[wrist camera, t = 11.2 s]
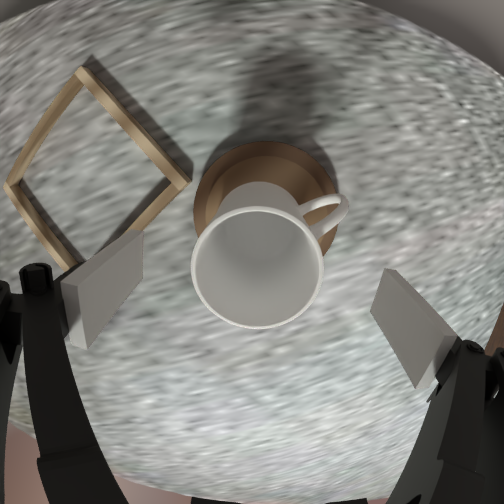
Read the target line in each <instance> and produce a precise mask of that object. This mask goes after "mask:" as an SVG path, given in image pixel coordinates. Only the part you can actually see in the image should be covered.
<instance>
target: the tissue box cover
mask: <svg viewBox="0 0 504 504" xmlns="http://www.w3.org/2000/svg"><path fill="white" fill-rule="evenodd" d="M498 347H502V348H504V303H503V306H502V309H501V312H500V314H499V317H498V319H497V322H496V325H495V327H494V329H493V332H492V334H491V336H490V339H489V341H488V343H487V346H486V348H485V350H484V351H485V355H488V356H492V355H493V354H494V352H495V350H496V348H498Z"/></svg>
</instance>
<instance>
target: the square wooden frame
mask: <svg viewBox="0 0 504 504" xmlns="http://www.w3.org/2000/svg"><path fill="white" fill-rule="evenodd" d="M84 85H85V86H86V87H87V89H88V90H89V91H90V92H91V93H92V94H93V95H94V97H95V98H96V99H97V100H98V101H99V102H100V103H101V104H102V106H103V107H104V108H105V109H106V110H107V111H108V112H109V113H110V115H111V116H112V117H113V118H114V119H115V120H116V121H117V122H118V124H119V125H120V126H121V127H122V128H123V129H124V130H125V131H126V133H127V134H128V135H129V136H130V137H131V138H132V139H133V140H134V141H135V143H136V144H137V145H138V146H139V147H140V148H141V149H142V150H143V151H144V153H145V154H146V155H147V156H148V157H149V158H150V159H151V160H152V161H153V163H154V164H155V165H156V166H157V167H158V168H159V169H160V170H161V171H162V173H163V174H164V175H165V176H166V177H167V178H168V179H169V180H170V181H171V182H172V183H171V184H170V185H169V186H168V187H167V188H166V189H165V190H164V191H163V192H162V193H161V194H160V195H159V196H158V197H157V198H156V199H155V200H154V201H153V202H152V203H151V204H150V205H149V206H148V207H147V209H146V210H145V211H144V212H143V213H142V214H141V215H140V216H139V217H138V218H137V219H136V220H135V221H134V223H133V224H132V225H131V226H130V227H129V228H128V229H127V230H126V231H125V233H126V232H128V231H129V230H130V229H133V230H140V231H143V230H144V229H145V228H146V227H147V226H148V225H149V223H150V222H151V221H152V220H153V219H154V218H155V217H156V216H157V215H158V214H159V213H160V212H161V211H162V210H163V209H164V208H165V207H166V206H167V205H168V204H169V203H170V202H171V201H172V200H173V199H174V198H175V197H176V196H177V195H178V194H179V193H180V192H181V191H182V190H183V189H184V188H185V187H187V186H188V185H189V184H190V183H191V182H192V181H191V180H190V178H189V177H188V176H187V175H186V174H185V173H184V172H183V171H182V170H181V169H180V168H179V166H178V165H177V164H176V163H175V162H174V161H173V160H172V159H171V158H170V157H169V155H168V154H167V153H166V152H165V151H164V150H163V149H162V148H161V147H160V146H159V145H158V143H157V142H156V141H155V140H154V139H153V138H152V137H151V136H150V135H149V134H148V133H147V131H146V130H145V129H144V128H143V127H142V126H141V125H140V124H139V123H138V122H137V121H136V119H135V118H134V117H133V116H132V115H131V114H130V113H129V112H128V111H127V110H126V109H125V107H124V106H123V105H122V104H121V103H120V102H119V101H118V100H117V99H116V98H115V97H114V96H113V94H112V93H111V92H110V91H109V90H108V89H107V88H106V87H105V86H104V85H103V84H102V82H101V81H100V80H99V79H98V78H97V77H96V76H95V75H94V74H93V73H92V72H91V71H90V69H88V68H85V67H83V66H80V67H79V68H78V69H77V71H76V72H75V73H74V74H73V76H72V77H71V78H70V79H69V81H68V82H67V83H66V84H65V86H64V87H63V88H62V90H61V91H60V92H59V94H58V95H57V96H56V98H55V99H54V101H53V102H52V103H51V105H50V106H49V108H48V109H47V111H46V112H45V113H44V115H43V116H42V118H41V120H40V121H39V123H38V124H37V126H36V127H35V129H34V131H33V132H32V134H31V135H30V137H29V139H28V140H27V142H26V144H25V146H24V147H23V149H22V151H21V153H20V155H19V156H18V158H17V160H16V162H15V164H14V166H13V168H12V170H11V172H10V174H9V176H8V178H7V180H6V182H5V184H4V186H3V188H4V190H5V192H6V193H7V195H8V196H9V198H10V199H11V201H12V203H13V204H14V206H15V207H16V209H17V210H18V211H19V213H20V214H21V216H22V217H23V219H24V220H25V222H26V223H27V224H28V226H29V227H30V228H31V230H32V231H33V233H34V234H35V235H36V237H37V238H38V239H39V241H40V242H41V243H42V244H43V246H44V247H45V248H46V250H47V251H48V252H49V253H50V255H51V256H52V257H53V258H54V260H55V261H56V262H57V263H58V264H59V266H60V267H61V268H62V269H63V270H64V272H66V271H68V269H70V268H71V267H72V266H74V265H76V264H78V263H77V261H76V260H75V259H74V258H73V257H72V256H71V254H70V253H69V252H68V251H67V250H66V248H65V247H64V246H63V245H62V243H61V242H60V241H59V240H58V238H57V237H56V236H55V235H54V233H53V232H52V231H51V230H50V228H49V227H48V226H47V224H46V223H45V222H44V220H43V219H42V218H41V216H40V215H39V214H38V212H37V211H36V210H35V208H34V207H33V205H32V204H31V203H30V201H29V200H28V198H27V197H26V195H25V194H24V192H23V191H22V190H21V188H20V187H19V185H18V184H19V182H20V180H21V178H22V177H23V175H24V173H25V171H26V169H27V168H28V166H29V164H30V162H31V161H32V159H33V157H34V155H35V154H36V152H37V150H38V149H39V147H40V146H41V144H42V142H43V141H44V139H45V138H46V136H47V135H48V133H49V132H50V130H51V129H52V127H53V126H54V124H55V123H56V121H57V120H58V119H59V117H60V116H61V114H62V113H63V112H64V110H65V109H66V108H67V106H68V105H69V104H70V102H71V101H72V100H73V98H74V97H75V96H76V95H77V93H78V92H79V91H80V90H81V88H82V87H83V86H84ZM125 233H124V234H125Z"/></svg>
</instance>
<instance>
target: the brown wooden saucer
mask: <svg viewBox="0 0 504 504" xmlns="http://www.w3.org/2000/svg"><path fill="white" fill-rule="evenodd" d="M250 182H268V183H272V184H275V185H278V186H280V187H282V188H283V189H285V190H286V191H287V192H289V193H290V194H291V195H292V196H293V198H294V199H295V200H296V202H297V203H298V205H301V204H304V203H306V202H308V201H311V200H313V199H316V198H319V197H322V196H325V195H329V194H336V191H335V188H334V185H333V183H332V181H331V179H330V177H329V176H328V174H327V173H326V171H325V170H324V168H323V167H322V166H321V165H320V164H319V163H318V162H317V161H316V160H315V159H314V158H312V157H311V156H310V155H309V154H307V153H305V152H304V151H302V150H300V149H298V148H296V147H294V146H291V145H288V144H285V143H280V142H273V141H260V142H252V143H248V144H244V145H241V146H239V147H236V148H234V149H232V150H230V151H229V152H227V153H225V154H224V155H222V156H221V157H220V158H219V159H217V160H216V161H215V162H214V163H213V164H212V165H211V166H210V168H209V169H208V170H207V172H206V173H205V174H204V176H203V178H202V180H201V182H200V184H199V186H198V189H197V192H196V196H195V200H194V210H193V213H194V224H195V229H196V232H197V235H198V238H199V237H200V235H201V233H202V232H203V231H204V229H205V228H206V226H207V225H208V224H209V222H210V221H211V220H212V218H213V217H214V216H215V214H216V213H217V211H218V208H219V206H220V204H221V202H222V201H223V199H224V198H225V197H226V196H227V195H228V194H229V193H230V192H231V191H232V190H234V189H235V188H237V187H239V186H241V185H243V184H246V183H250ZM338 205H339V204H338V203H334V204H329V205H325V206H322V207H319V208H316V209H314V210H312V211H309V212H308V213H306V214H305V215H303V218H304V219H305V221H306V223H307V224H308V226H311V225H313V224H315V223H317V222H319V221H321V220H322V219H324V218H325V217H326V216H328V215H329V214H330V213H331V212H333V211H334V210H335V209H336V208H337V207H338ZM337 226H338V224H337V225H336V226H334V227H333V228H332V229H331V230H329V231H328V232H327V233H325V234H324V235H322V236H321V237H320V238H319V239H318V240H317V241H318V243H319V246H320V248H321V252H322V256H324V255H325V253H326V252H327V251H328V249H329V248H330V246H331V244H332V242H333V240H334V237H335V234H336V231H337Z"/></svg>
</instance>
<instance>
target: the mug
mask: <svg viewBox="0 0 504 504" xmlns="http://www.w3.org/2000/svg"><path fill="white" fill-rule="evenodd" d="M334 203H340V204H339V205H338V207H337V208H336V209H335V210H334V211H333V212H331V213H330V214H329V215H328V216H326V217H325V218H324V219H322V220H321V221H319V222H317V223H315V224H313V225H311V226H308V224H307V223H306V221H305V219H304V218H303V215H305V214H306V213H308V212H309V211H312V210H314V209H316V208H319V207H322V206H325V205H329V204H334ZM348 210H349V202H348V200H347V198H346V197H345V196H344V195H342V194H329V195H325V196H322V197H319V198H316V199H313V200H311V201H308V202H306V203H304V204H301V205H298V203H297V202H296V200H295V199H294V198H293V196H292V195H291V194H290V193H289V192H287V191H286V190H285V189H283V188H282V187H280V186H278V185H275V184H272V183H268V182H250V183H246V184H243V185H241V186H239V187H237V188H235V189H234V190H232V191H231V192H230V193H229V194H228V195H227V196H226V197H225V198H224V199H223V201H222V202H221V204H220V206H219V208H218V211H217V213H216V214H215V216H214V217H213V218H212V220H211V221H210V222H209V224H208V225H207V226H206V228H205V229H204V231H203V232H202V233H201V235H200V237H199V238H198V240H197V242H196V245H195V247H194V250H193V254H192V259H191V275H192V280H193V284H194V287H195V289H196V292H197V294H198V295H199V297H200V299H201V300H202V302H203V303H204V304H205V305H206V307H207V308H208V309H209V310H210V311H211V312H213V313H214V314H215V315H216V316H218V317H219V318H221V319H222V320H224V321H226V322H228V323H230V324H233V325H236V326H239V327H243V328H250V329H266V328H272V327H276V326H280V325H283V324H285V323H287V322H289V321H291V320H293V319H295V318H296V317H298V316H299V315H300V314H302V313H303V312H304V311H305V310H306V309H307V308H308V307H309V306H310V305H311V303H312V302H313V301H314V299H315V297H316V296H317V294H318V292H319V289H320V287H321V284H322V280H323V273H324V262H323V256H322V252H321V248H320V246H319V243H318V241H317V240H318V239H319V238H320V237H321V236H322V235H324V234H325V233H327V232H328V231H329V230H331V229H332V228H333V227H334V226H336V225H337V224H338V223H339V222H340V221H341V220H342V219H343V218H344V216H345V215H346V214H347V212H348Z"/></svg>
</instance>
